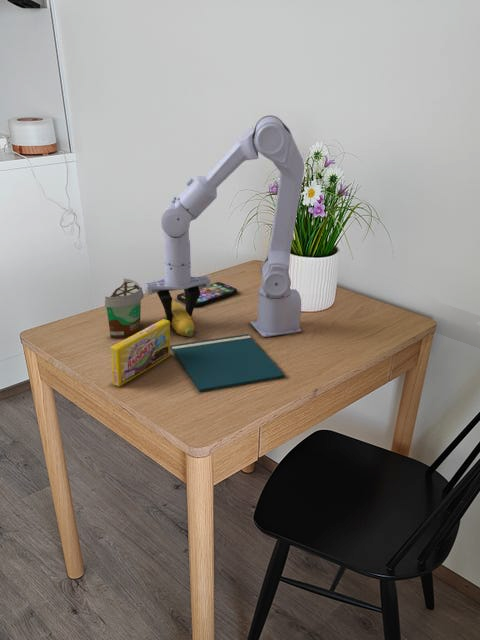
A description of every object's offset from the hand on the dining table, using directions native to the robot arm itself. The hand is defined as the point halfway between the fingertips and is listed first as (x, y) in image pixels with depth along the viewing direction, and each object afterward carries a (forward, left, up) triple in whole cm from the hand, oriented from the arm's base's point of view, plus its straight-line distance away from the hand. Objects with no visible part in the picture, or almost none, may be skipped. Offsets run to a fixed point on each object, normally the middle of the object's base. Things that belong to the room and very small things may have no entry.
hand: (179, 319), depth 145 cm
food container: (+11, -1, -2) cm, 11 cm away
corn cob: (0, 0, -2) cm, 2 cm away
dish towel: (-4, +20, -2) cm, 20 cm away
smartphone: (-12, -15, -2) cm, 19 cm away
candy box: (+13, +18, -2) cm, 22 cm away
